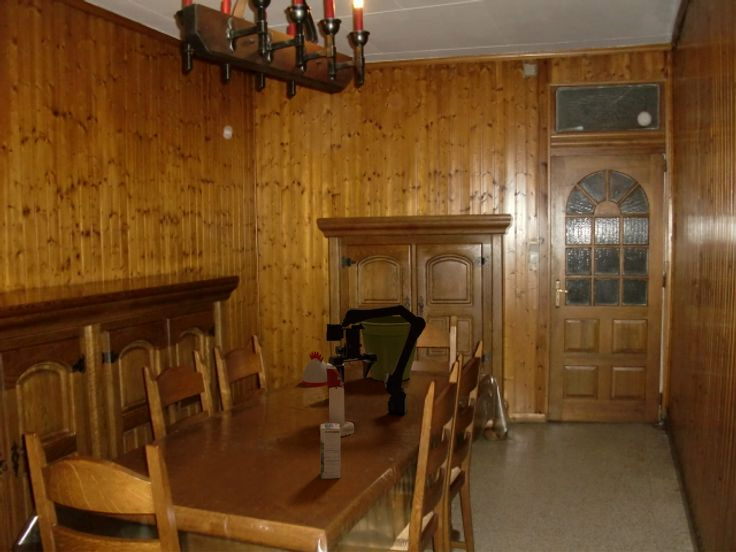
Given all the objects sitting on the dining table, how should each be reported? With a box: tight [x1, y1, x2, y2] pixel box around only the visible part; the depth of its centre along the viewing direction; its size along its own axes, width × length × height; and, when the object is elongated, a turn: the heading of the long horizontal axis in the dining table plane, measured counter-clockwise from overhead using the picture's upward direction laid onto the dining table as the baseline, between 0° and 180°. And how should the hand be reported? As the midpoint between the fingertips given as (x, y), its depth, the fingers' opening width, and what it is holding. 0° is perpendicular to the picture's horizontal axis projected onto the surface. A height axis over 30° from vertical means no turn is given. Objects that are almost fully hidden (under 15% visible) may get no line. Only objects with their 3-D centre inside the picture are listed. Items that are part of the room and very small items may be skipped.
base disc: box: [319, 420, 355, 437], centre depth 240 cm, size 12×12×2 cm
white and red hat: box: [301, 351, 328, 387], centre depth 321 cm, size 14×14×15 cm
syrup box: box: [319, 423, 342, 480], centre depth 196 cm, size 6×6×14 cm
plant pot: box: [359, 315, 419, 382], centre depth 329 cm, size 30×30×29 cm
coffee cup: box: [325, 362, 346, 398], centre depth 289 cm, size 8×8×15 cm
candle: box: [328, 386, 345, 427], centre depth 240 cm, size 5×5×14 cm
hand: (353, 380), depth 263 cm, fingers open, 9 cm apart
